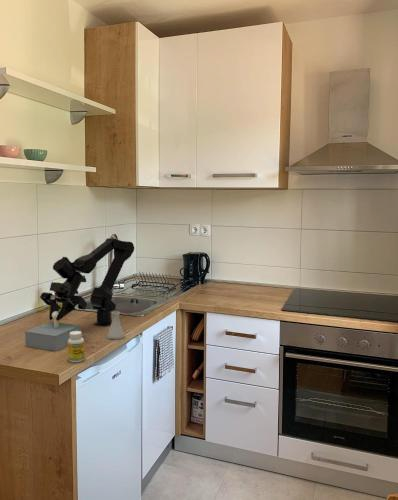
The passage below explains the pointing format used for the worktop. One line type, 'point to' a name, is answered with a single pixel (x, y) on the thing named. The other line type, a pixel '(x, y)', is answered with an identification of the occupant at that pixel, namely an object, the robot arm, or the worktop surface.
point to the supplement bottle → (76, 347)
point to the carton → (47, 338)
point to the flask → (115, 328)
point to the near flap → (59, 324)
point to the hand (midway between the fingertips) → (53, 319)
